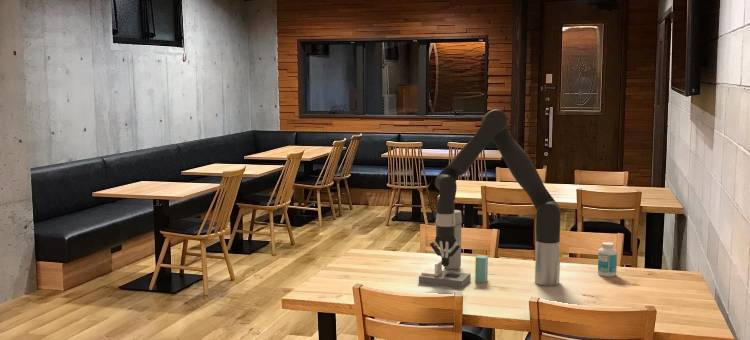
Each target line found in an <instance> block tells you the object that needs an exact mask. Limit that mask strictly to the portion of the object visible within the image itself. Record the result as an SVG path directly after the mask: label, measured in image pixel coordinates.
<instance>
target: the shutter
mask: <svg viewBox="0 0 750 340" xmlns="http://www.w3.org/2000/svg"><path fill="white" fill-rule="evenodd" d="M442 271H443V265H442V260H439V261H437V262H435V264H434V269H433V268H426V269H425V270H423V271H422V272H421V274H422V275H429V276H438V275H439V274H440V273H442Z"/></svg>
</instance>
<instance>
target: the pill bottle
mask: <svg viewBox="0 0 750 340" xmlns="http://www.w3.org/2000/svg"><path fill="white" fill-rule="evenodd" d="M601 246H602V247H601V248H599V249H598V253H597V256H598V257H597V273H598V275H599V276H601V277H605V278H606V277H607V278H608V277H610V278H611V277H615V276H616V275H617V262H618V261H617V259H618V251H617V250H616V248H614V247H615V245H614V243H613V242H607V241H606V242H605V241H604V242H601Z"/></svg>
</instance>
